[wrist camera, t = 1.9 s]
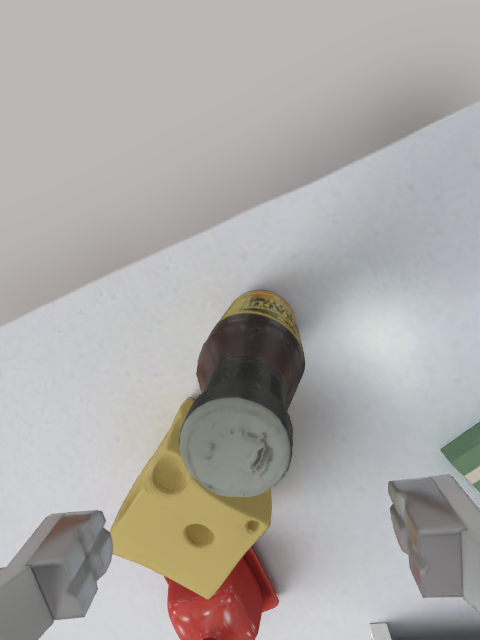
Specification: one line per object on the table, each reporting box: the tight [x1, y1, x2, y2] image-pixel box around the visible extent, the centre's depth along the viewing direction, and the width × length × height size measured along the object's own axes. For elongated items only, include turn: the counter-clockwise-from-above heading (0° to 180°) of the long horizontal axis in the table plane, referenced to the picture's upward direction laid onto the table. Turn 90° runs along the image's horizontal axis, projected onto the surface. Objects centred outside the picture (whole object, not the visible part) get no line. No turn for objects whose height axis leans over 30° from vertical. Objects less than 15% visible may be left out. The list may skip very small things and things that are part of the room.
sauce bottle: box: [178, 290, 305, 497], centre depth 21 cm, size 6×6×20 cm
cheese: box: [109, 397, 272, 599], centre depth 30 cm, size 10×11×10 cm
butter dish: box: [164, 546, 279, 640], centre depth 34 cm, size 12×12×8 cm
